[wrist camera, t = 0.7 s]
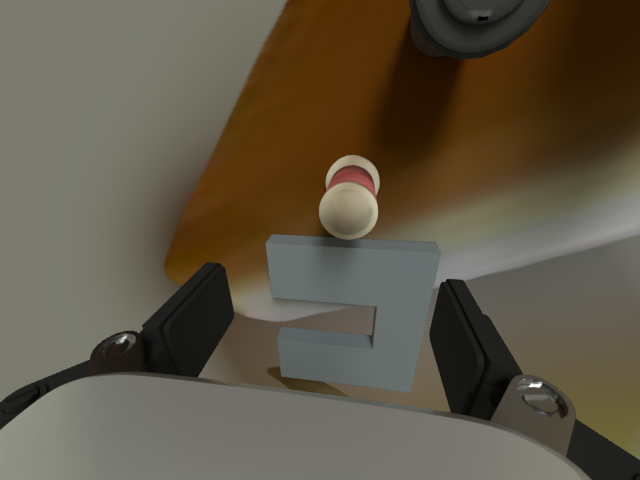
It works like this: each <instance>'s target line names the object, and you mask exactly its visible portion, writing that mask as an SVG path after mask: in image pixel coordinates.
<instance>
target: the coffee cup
mask: <svg viewBox="0 0 640 480" xmlns="http://www.w3.org/2000/svg"><path fill="white" fill-rule="evenodd" d="M549 2H550V0H409V3H410V8H411V17H410V34H411V38H412V41H413V43H414V45H415V46H416V48H417V49H418V50H419V51H420V52H421V53H423V54H424V55H427V56H430V57H442V56H449V57H452V58H456V59H459V60H461V59H473V58H482V57H485V56H487V55H490V54H492V53H494V52H497V51H499V50H501V49H504V48H506V47H507V46H508V45H510V44H511V43H512V42H513V41H515V40H516V39H517V38H519V37H520V36H521V35H523V34H524V33H525V32H526V31H528V29H529V28H530V27H531V26H532V25H533V23H534V22H535V21H536V20H537V19H538V17H539V16H540V15H541V14H542V12H543V11H544V10H545V9H546V8H547V6H548V4H549Z"/></svg>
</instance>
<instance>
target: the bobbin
mask: <svg viewBox="0 0 640 480" xmlns="http://www.w3.org/2000/svg"><path fill="white" fill-rule="evenodd" d="M379 185H380V181H379V175H378V172H377V169H376V167H375V166H374V164H373V163H372V162H371V161H370V160H368V159H367V158H365V157H362V156H359V155H348V156H345V157H342V158H340V159H339V160H337V161H336V162H335V163H334V164H333V165H332V166H331V168H330V170H329V172H328V174H327V177H326V192H325V194H324V196H323V198H322V201H321V203H320V207H319V217H320V220H321V223H322V225H323V226H324V228H325V229H326V230H327V231H328V232H329V233H330V234H332V235H333V236H335V237H337V238H341V239H346V240H351V239H357V238H360V237H362V236H364V235H366V234H367V233H368V232H369V231H371V229H372V228H373V227H374V225H375V223H376V221H377V217H378V206H377V200H376V195H377V193H378V190H379Z"/></svg>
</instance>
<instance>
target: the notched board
mask: <svg viewBox="0 0 640 480" xmlns="http://www.w3.org/2000/svg"><path fill="white" fill-rule="evenodd" d="M266 250H267V258H268V267H269V275H270V284H271V292H272V298H282V299H294V300H306V301H318V302H329V303H341V304H353V305H365V306H375V312H374V322H373V332H372V336H371V335H361V334H351V333H341V332H329V331H320V330H310V329H300V328H290V327H281V330H280V333H279V335H278V338H277V343H278V351H279V359H280V369H281V376H282V377H290V378H298V379H306V380H314V381H322V382H330V383H338V384H346V385H354V386H363V387H370V388H378V389H386V390H394V391H402V392H409V393H410V392H411V388H412V383H413V379H414V374H415V370H416V365H417V360H418V355H419V351H420V347H421V342H422V337H423V332H424V328H425V323H426V318H427V314H428V309H429V305H430V300H431V295H432V291H433V286H434V282H435V277H436V272H437V268H438V263H439V258H440V254H441V252H440V251H439V249H438V247H437V245H436V243H433V242H414V241H394V240H374V239H351V240H346V239H341V238H334V237H315V236H295V235H275V234H272V235H271V236H270V238H269V239H268V241H267V242H266Z"/></svg>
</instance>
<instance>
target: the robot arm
mask: <svg viewBox="0 0 640 480" xmlns="http://www.w3.org/2000/svg"><path fill="white" fill-rule="evenodd" d="M233 318H234V310H233V305H232V300H231V295H230V290H229V285H228V280H227V275H226V270H225V268H224V267H222V265H221V264H220V263H210V262H207V263H205V264H204V265H203V266H202V267H201V268H200V269H199V270H198V271H197V272H196V273H195V274H194V275H193V276H192V277H191V278H190V279H189V280H188V281H187V282H186V283H185V284H184V285H183V286H182V287H181V288H180V289H179V290H178V291H177V292H176V293H175V294H174V295H173V296H172V297H171V298H170V299H169V300H168V301H167V302H166V303H165V304H164V305H163V306H162V307H161V308H160V309H158V311H157V312H155V313H154V314H153V315H152V316H151V317H150V319H148V320H147V321H146V322H145V323H144V324H143V325H142V327H143V330H142V331H141V332H140V333H138V332H136V331H123V332H120V333H116V334H114V335H112V336H110V337H108V338H106V339H104V340H103V341H102V342H101V343H99V344H98V345H97V346H96V347H95V348H94V349H93V351H92V353H91V356H90V360H88V361H85V362H83V363H81V364H78V365H75V366H73V367H71V368H68V369H66V370H63V371H61V372H58V373H56V374H53V375H51V376H48V377H46V378H44V379H41V380H39V381H36V382H34V383H31V384H29V385H27V386H25V387H22V388H21V389H18V390H17V391H15V392H13V393H12V394H10V395H9V396H8V397H6V398H5V399H4V400H3V401H1V402H0V480H640V460H639V459H637V458H635V457H634V456H632V455H631V454H629V453H628V452H626V451H625V450H623V449H621V448H620V447H619V446H617V445H615V444H614V443H612V442H611V441H609V440H608V439H606V438H605V437H603V436H602V435H600V434H598V433H597V432H595V431H594V430H592V429H591V428H589V427H587V426H586V425H585V424H583V423H581V422H580V421H578V420H577V419H576V411H575V409H574V406H573V404H572V403H571V401H570V400H569V399H568V397H567V396H566V395H565V394H564V393H563V392H562V391H561V390H559V389H558V388H557V387H556V386H554V385H553V384H551V383H550V382H548V381H546V380H544V379H541V378H539V377H536V376H532V375H524V374H523V373H522V371H521V369H520V368H519V366H518V364H517V363H516V361H515V359H514V358H513V356H512V354H511V353H510V351H509V350H508V348H507V346H506V345H505V343H504V341H503V340H502V338H501V336H500V335H499V333H498V331H497V330H496V328H495V326H494V325H493V323H492V321H491V320H490V318H489V317H488V316H487V315H483V313H482V311H481V310H480V308H479V306H478V305H477V303H476V301H475V299H474V298H473V296H472V294H471V293H470V291H469V289H468V288H467V286H466V284H465V282H464V281H463V280H457V279H447V280H446V281H445V282H441V284H440V288H439V293H438V297H437V302H436V306H435V310H434V315H433V319H432V323H431V328H430V334H429V335H430V342H431V345H432V349H433V352H434V356H435V359H436V363H437V366H438V369H439V373H440V376H441V380H442V383H443V387H444V390H445V394H446V397H447V400H448V404H449V407H450V411H451V412H445V411H439V410H432V409H426V408H419V407H412V406H406V405H400V404H393V403H386V402H378V401H371V400H364V399H357V398H349V397H342V396H335V395H328V394H320V393H313V392H305V391H298V390H290V389H283V388H275V387H267V386H260V385H252V384H244V383H236V382H228V381H220V380H212V379H204V378H197V377H198V376H199V374H200V372H201V371H202V369H203V368H204V366H205V364H206V363H207V361H208V359H209V358H210V356H211V355H212V353H213V351H214V350H215V348H216V346H217V345H218V343H219V342H220V340H221V338H222V337H223V335H224V333H225V332H226V330H227V329H228V327H229V325H230V324H231V322H232V320H233Z"/></svg>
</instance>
